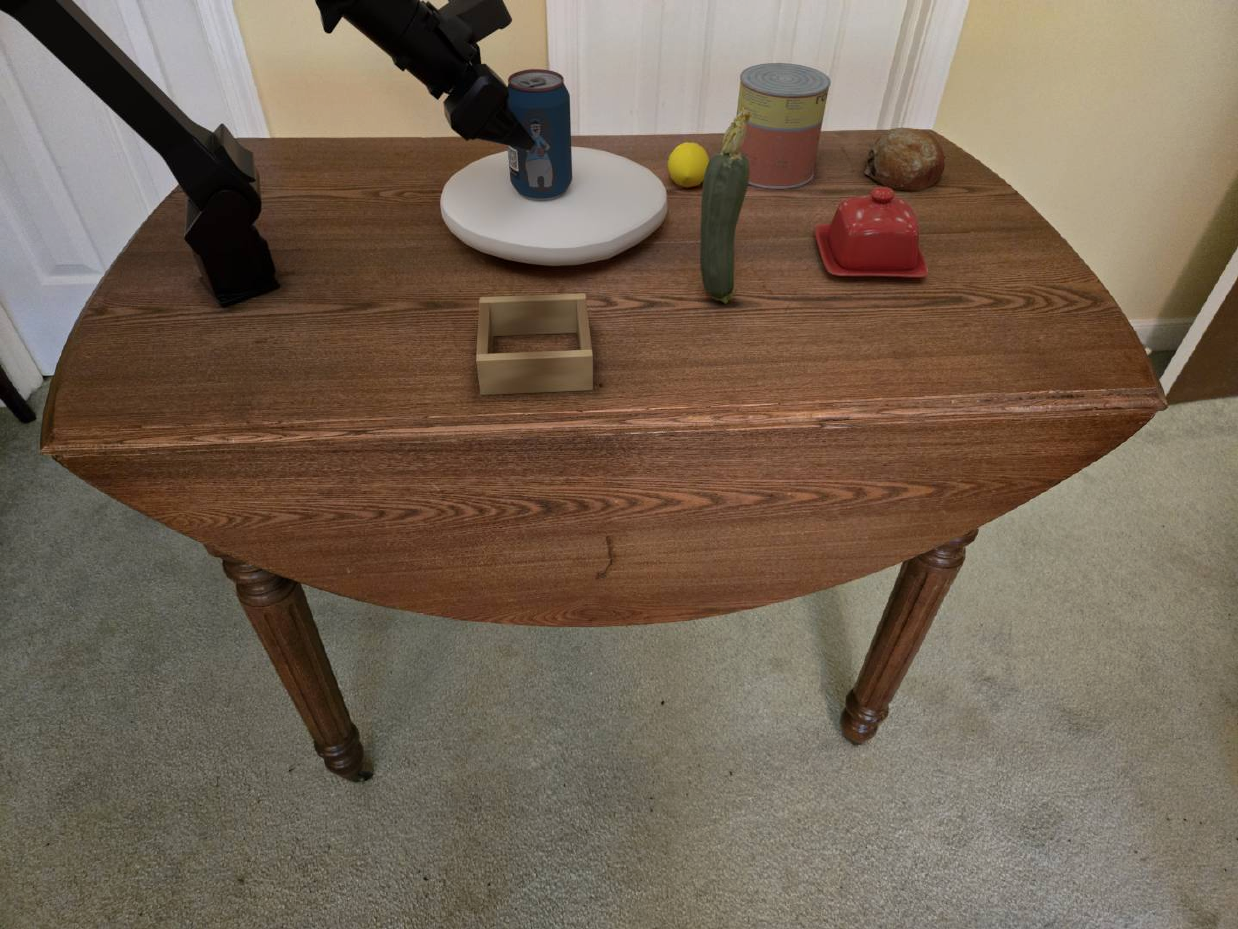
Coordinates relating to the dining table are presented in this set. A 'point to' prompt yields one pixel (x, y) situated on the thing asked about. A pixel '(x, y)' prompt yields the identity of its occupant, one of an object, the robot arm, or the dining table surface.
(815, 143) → the canned food
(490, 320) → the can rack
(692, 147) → the lemon
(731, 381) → the dining table surface
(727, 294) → the vegetable
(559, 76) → the soda can
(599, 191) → the plate
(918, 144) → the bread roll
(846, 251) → the butter dish
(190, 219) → the robot arm
